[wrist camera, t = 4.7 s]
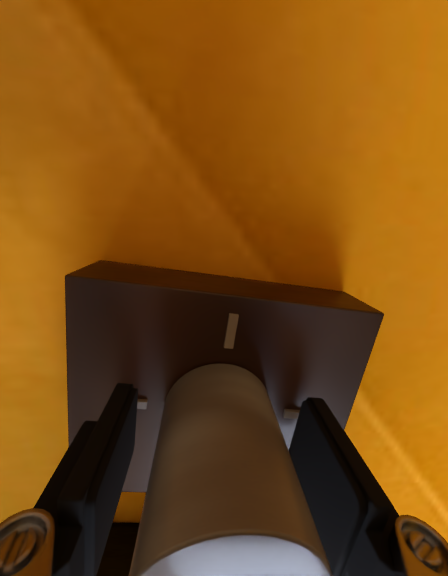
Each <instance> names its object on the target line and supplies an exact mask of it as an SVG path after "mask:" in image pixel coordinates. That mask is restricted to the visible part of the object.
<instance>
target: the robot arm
mask: <svg viewBox="0 0 448 576" xmlns="http://www.w3.org/2000/svg"><path fill="white" fill-rule="evenodd" d="M137 402H138V388H133V384H127V383H117V385H116V386H115V388H114V390H113V392H112V394H111V396H110V398H109V400H108V402H107V404H106V406H105V408H104V410H103V411H102V413H101V415H100V417H99V419H98V421H87V420H86V421H85V422H84V423H83V424H82V426H81V427H80V429H79V431H78V433H77V434H76V436H75V438H74V439H73V441H72V443H71V445H70V446H69V448H68V450H67V451H66V453H65V455H64V457H63V458H62V460H61V462H60V463H59V465H58V467H57V469H56V470H55V472H54V474H53V475H52V477H51V479H50V481H49V482H48V484H47V486H46V487H45V489H44V491H43V493H42V494H41V496H40V498H39V499H38V501H37V503H36V505H35V506H34V508H32V509H27V510H23V511H20V512H18V513H16V514H14V515H12V516H10V517H8V518H7V519H6V520H4V521H3V522H1V523H0V576H96V575H97V572H98V569H99V565H100V562H101V559H102V555H103V552H104V549H105V545H106V542H107V539H108V535H109V532H110V529H111V525H112V522H113V519H114V515H115V512H116V509H117V505H118V502H119V498H120V495H121V492H122V488H123V485H124V482H125V478H126V475H127V472H128V468H129V465H130V462H131V458H132V455H133V451H134V445H135V432H136V417H137ZM289 453H290V456H291V459H292V462H293V465H294V467H295V470H296V473H297V476H298V479H299V481H300V484H301V487H302V490H303V492H304V495H305V498H306V501H307V504H308V506H309V509H310V512H311V515H312V517H313V520H314V523H315V526H316V529H317V531H318V534H319V537H320V540H321V542H322V545H323V548H324V551H325V554H326V556H327V559H328V562H329V565H330V568H331V571H332V576H448V543H447V542H446V540H445V539H444V538H443V537H442V536H441V535H440V534H439V533H438V532H437V531H436V530H435V529H433V528H432V527H431V526H429V525H428V524H427V523H426V522H424V521H422V520H420V519H418V518H416V517H413V516H410V515H401V516H399V515H398V513H397V512H396V510H395V509H394V506H393V505H392V503H391V502H390V500H389V499H388V497H387V496H386V494H385V493H384V491H383V490H382V488H381V486H380V485H379V483H378V482H377V480H376V479H375V477H374V476H373V474H372V473H371V471H370V470H369V468H368V467H367V465H366V463H365V462H364V460H363V459H362V457H361V456H360V454H359V453H358V451H357V450H356V448H355V447H354V445H353V443H352V442H351V440H350V439H349V437H348V436H347V434H346V433H345V431H344V430H343V428H342V427H341V425H340V424H339V422H338V420H337V419H336V417H335V416H334V414H333V413H332V411H331V410H330V408H329V407H328V405H327V404H326V402H325V401H324V399H322V398H314V397H308V398H307V399H306V401H303V402H302V405H301V408H300V412H299V415H298V419H297V423H296V426H295V430H294V433H293V437H292V440H291V444H290V448H289Z"/></svg>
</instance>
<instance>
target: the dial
mask: <svg viewBox="0 0 448 576" xmlns="http://www.w3.org/2000/svg"><path fill="white" fill-rule="evenodd" d="M129 576H332V571H331V568H330V565H329V562H328V559H327V556H326V554H325V551H324V548H323V545H322V542H321V540H320V537H319V534H318V531H317V529H316V526H315V523H314V520H313V517H312V515H311V512H310V509H309V506H308V504H307V501H306V498H305V495H304V492H303V490H302V487H301V484H300V481H299V479H298V476H297V473H296V470H295V467H294V465H293V462H292V459H291V456H290V453H289V451H288V448H287V445H286V442H285V440H284V437H283V434H282V431H281V428H280V426H279V423H278V420H277V417H276V415H275V412H274V409H273V406H272V403H271V401H270V398H269V395H268V392H267V390H266V388H265V386H264V385H263V383H262V382H261V381H260V380H259V379H258V378H257V377H256V376H255V375H254V374H253V373H251V372H249V371H248V370H246V369H244V368H241V367H239V366H235V365H231V364H209V365H204V366H201V367H198V368H196V369H193V370H191V371H189V372H188V373H186V374H185V375H183V376H182V377H181V378H180V379H179V380H178V381H177V382H176V383H175V384H174V385H173V386H172V388H171V389H170V391H169V393H168V395H167V397H166V400H165V404H164V409H163V414H162V419H161V424H160V428H159V433H158V438H157V443H156V448H155V452H154V457H153V462H152V467H151V472H150V476H149V481H148V486H147V491H146V496H145V500H144V505H143V510H142V515H141V520H140V524H139V529H138V534H137V539H136V543H135V548H134V553H133V558H132V563H131V567H130V572H129Z"/></svg>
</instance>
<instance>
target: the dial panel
mask: <svg viewBox="0 0 448 576" xmlns="http://www.w3.org/2000/svg"><path fill="white" fill-rule="evenodd" d="M65 302H66V345H67V389H68V432H69V446H70V445H71V443H72V441H73V439H74V438H75V436H76V434H77V433H78V431H79V429H80V427H81V426H82V424H83V423H84V422H85V421H86V420H87V421H98V419H99V417H100V415H101V413H102V411H103V410H104V408H105V406H106V404H107V402H108V400H109V398H110V396H111V394H112V392H113V390H114V388H115V386H116V385H117V383H127V384H133V388H138V402H137V417H136V432H135V445H134V451H133V455H132V458H131V462H130V465H129V468H128V472H127V475H126V478H125V482H124V485H123V488H122V492H146V491H147V486H148V481H149V476H150V472H151V467H152V462H153V457H154V452H155V448H156V443H157V438H158V433H159V428H160V424H161V419H162V414H163V409H164V404H165V400H166V397H167V395H168V393H169V391H170V389H171V388H172V386H173V385H174V384H175V383H176V382H177V381H178V380H179V379H180V378H181V377H182V376H183V375H185V374H186V373H188V372H189V371H191V370H193V369H196V368H198V367H201V366H204V365H209V364H231V365H235V366H239V367H241V368H244V369H246V370H248V371H249V372H251V373H253V374H254V375H255V376H256V377H257V378H258V379H259V380H260V381H261V382H262V383H263V385H264V386H265V388H266V390H267V392H268V395H269V398H270V401H271V403H272V406H273V409H274V412H275V415H276V417H277V420H278V423H279V426H280V428H281V431H282V434H283V437H284V440H285V442H286V445H287V448H288V451H289V448H290V444H291V440H292V437H293V433H294V430H295V426H296V423H297V419H298V415H299V412H300V408H301V405H302V402H303V401H306V399H307V398H308V397H314V398H322V399H324V401H325V402H326V404H327V405H328V407H329V408H330V410H331V411H332V413H333V414H334V416H335V417H336V419H337V420H338V422H339V424H340V425H341V427H342V428H343V430H344V429H345V426H346V423H347V420H348V417H349V415H350V412H351V409H352V406H353V403H354V400H355V397H356V394H357V391H358V389H359V386H360V383H361V380H362V377H363V374H364V371H365V368H366V365H367V363H368V360H369V357H370V354H371V351H372V348H373V345H374V342H375V339H376V337H377V334H378V331H379V328H380V325H381V322H382V319H383V316H384V313H382V312H380V311H378V310H377V309H375V308H373V307H371V306H369V305H367V304H366V303H364V302H362V301H360V300H358V299H356V298H355V297H353V296H351V295H349V294H347V293H345V292H343V291H335V290H327V289H319V288H311V287H304V286H296V285H288V284H280V283H273V282H265V281H257V280H249V279H241V278H234V277H226V276H218V275H210V274H202V273H195V272H187V271H179V270H171V269H164V268H156V267H148V266H140V265H132V264H125V263H117V262H109V261H101V260H100V261H97V262H95V263H93V264H90V265H88V266H86V267H83V268H81V269H79V270H77V271H74V272H72V273H70V274H67V275H65Z"/></svg>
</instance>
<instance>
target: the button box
mask: <svg viewBox="0 0 448 576" xmlns="http://www.w3.org/2000/svg"><path fill="white" fill-rule="evenodd" d="M139 524H140V523H112V525H111V529H110V532H109V535H108V539H107V542H106V545H105V549H104V552H103V555H102V559H101V562H100V565H99V569H98V572H97V575H96V576H129V572H130V567H131V563H132V558H133V553H134V548H135V543H136V539H137V534H138V529H139Z"/></svg>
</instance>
